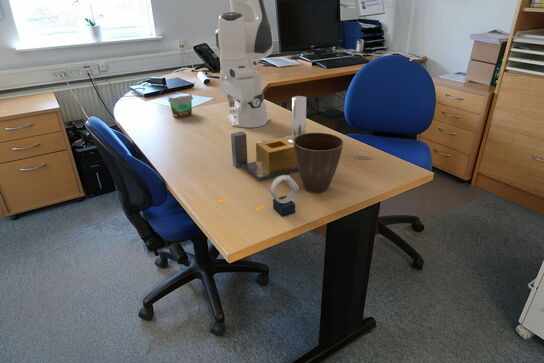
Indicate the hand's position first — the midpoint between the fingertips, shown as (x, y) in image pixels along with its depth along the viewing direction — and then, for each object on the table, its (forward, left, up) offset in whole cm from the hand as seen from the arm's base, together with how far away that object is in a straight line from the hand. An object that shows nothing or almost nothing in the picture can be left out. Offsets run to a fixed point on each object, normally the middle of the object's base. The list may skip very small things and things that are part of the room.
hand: (237, 109), depth 132 cm
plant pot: (+28, +14, -21) cm, 38 cm away
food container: (-66, 0, -21) cm, 69 cm away
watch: (+35, -2, -21) cm, 41 cm away
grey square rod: (0, 0, -21) cm, 21 cm away
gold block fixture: (+7, +12, -21) cm, 25 cm away
